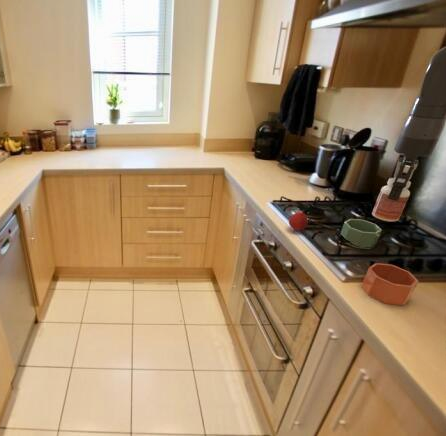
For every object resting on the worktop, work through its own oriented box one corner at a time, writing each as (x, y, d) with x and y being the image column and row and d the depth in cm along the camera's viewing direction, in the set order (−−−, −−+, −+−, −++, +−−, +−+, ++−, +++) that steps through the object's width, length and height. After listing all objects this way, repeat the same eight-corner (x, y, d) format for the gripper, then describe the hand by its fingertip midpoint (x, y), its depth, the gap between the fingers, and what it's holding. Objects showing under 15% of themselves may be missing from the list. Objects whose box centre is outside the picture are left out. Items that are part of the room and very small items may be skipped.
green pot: (366, 235, 110) (372, 220, 107) (379, 250, 102) (386, 234, 99) (336, 233, 112) (341, 218, 109) (347, 247, 103) (352, 231, 101)
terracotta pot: (395, 283, 87) (403, 265, 84) (415, 307, 79) (425, 288, 76) (356, 279, 89) (364, 261, 86) (372, 302, 81) (381, 283, 78)
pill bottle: (403, 222, 87) (421, 185, 82) (379, 221, 87) (394, 184, 82) (389, 212, 92) (405, 177, 87) (366, 211, 93) (380, 176, 88)
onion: (295, 225, 117) (301, 206, 113) (308, 233, 112) (314, 213, 108) (283, 228, 115) (288, 208, 111) (295, 236, 110) (301, 215, 107)
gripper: (440, 142, 72) (410, 208, 80) (439, 131, 82) (412, 191, 89) (398, 137, 76) (373, 200, 84) (402, 127, 86) (379, 185, 94)
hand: (393, 195), depth 87 cm, fingers closed on pill bottle, 6 cm apart
